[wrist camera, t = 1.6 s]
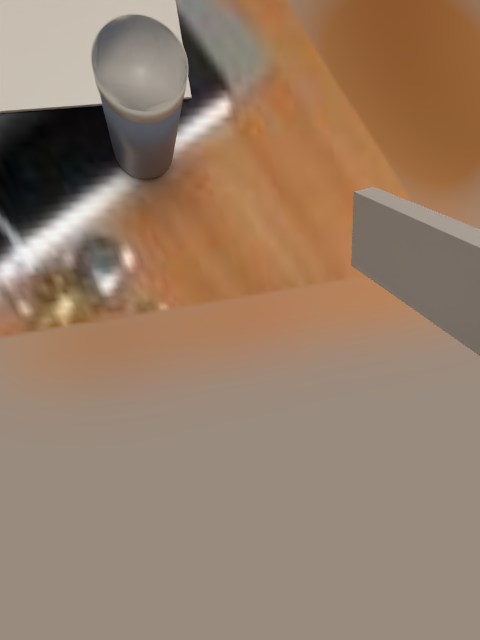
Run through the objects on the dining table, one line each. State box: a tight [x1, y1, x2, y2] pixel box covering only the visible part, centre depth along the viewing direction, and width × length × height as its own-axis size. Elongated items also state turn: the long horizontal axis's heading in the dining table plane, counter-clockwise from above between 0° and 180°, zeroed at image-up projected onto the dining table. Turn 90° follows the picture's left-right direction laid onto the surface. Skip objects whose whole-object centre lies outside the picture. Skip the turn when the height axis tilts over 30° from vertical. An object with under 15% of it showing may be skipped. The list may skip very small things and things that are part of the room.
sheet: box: [0, 0, 191, 113], centre depth 28 cm, size 20×10×1 cm, turn 100°
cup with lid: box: [91, 14, 188, 179], centre depth 24 cm, size 4×4×12 cm
